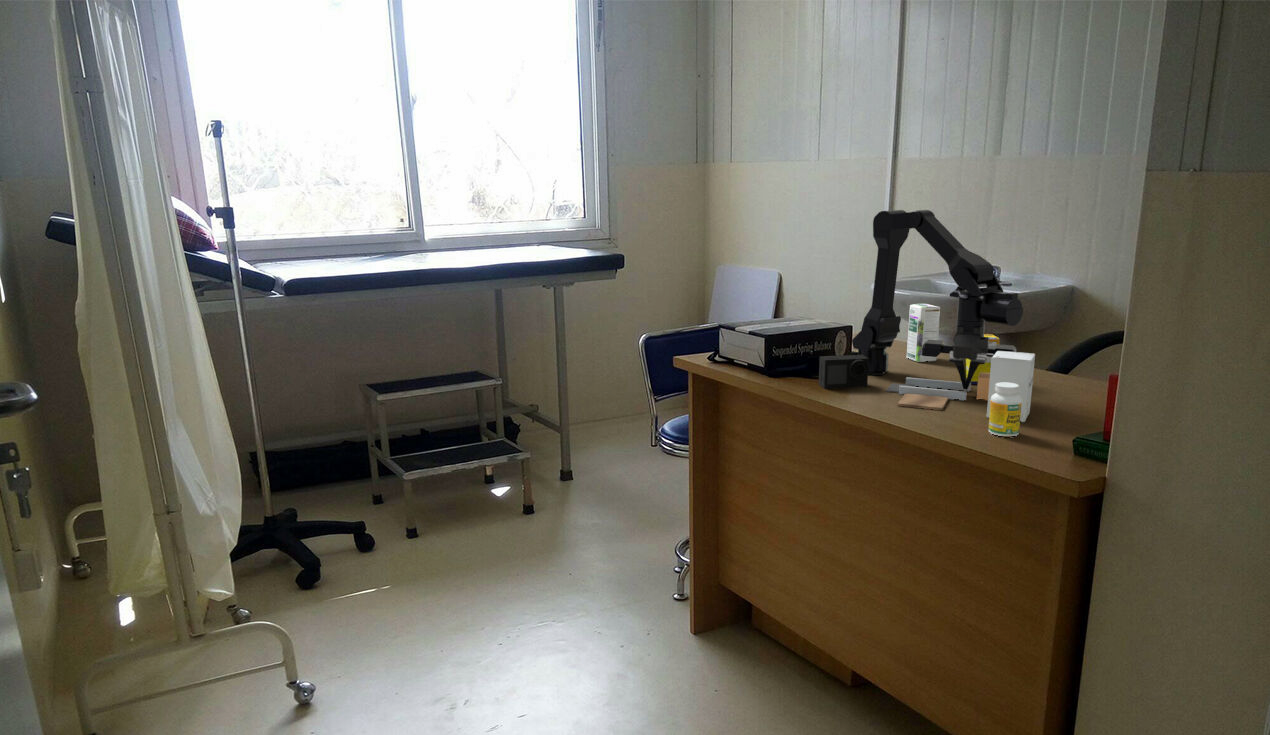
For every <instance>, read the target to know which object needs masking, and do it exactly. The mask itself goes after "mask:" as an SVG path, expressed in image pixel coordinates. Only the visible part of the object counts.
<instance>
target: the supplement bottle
mask: <svg viewBox="0 0 1270 735" xmlns="http://www.w3.org/2000/svg"><path fill="white" fill-rule="evenodd" d="M995 391H996V392H997V393H995V394H993V395H992V397H991V401H990V416H989V418H988V419H989V420H988V433H989V432H990V433H991V434H990V433H989V434H990V435H992V434H994V435H998V436H1016V437H1018V436H1019V433H1020V425H1021V422H1020V417H1021V405H1022V399H1021V397H1020V396H1018V395H1017V393H1018V392H1019V385H1018V384H1015V383H1008V382H1000V383H996V386H995ZM994 435H993V436H994ZM1017 435H1018V436H1017ZM998 436H997V437H998Z"/></svg>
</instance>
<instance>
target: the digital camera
mask: <svg viewBox="0 0 1270 735" xmlns="http://www.w3.org/2000/svg"><path fill="white" fill-rule="evenodd" d="M868 362H869V358H867V357H865V356H864V355H858V354H849V355H848V354H847V355H846V354H845V355H825V356H822V355H820V356H819V364H818V365H819V366H818V367H819V368H818V386H820V387H821V388H823V389H824V390H831V389H832V390H835V389H852V388H853V389H855V388H857V389H858V388H868V384H869V383H868V381H869V380H868V379H869V374H868V372H869V366H868Z"/></svg>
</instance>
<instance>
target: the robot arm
mask: <svg viewBox="0 0 1270 735" xmlns="http://www.w3.org/2000/svg"><path fill="white" fill-rule="evenodd" d="M910 229H915V230H916V231H917V233H918V234H919V235H920V236H921V237H922V239H923V240H925V241H926V242H927V244H929V245H930V247H932V249H933V250H934V251H935V252H936V253H937V255H939V256H940V257H941V258H942V260H943V261H945V263H946V264H947V266H948V272H949V275H950V276H951V278H952V279H953V281H954V283H955V284H956V285H957V286H956V288H955V289H954V290H953V291H952V292H950V293H949V297H950V298H957V299H958V300H957V310H956V311H957V314H956V324H955V325H956V326H955V334H954V337H953V343H952V345H951V344H950V345H949V344H945V341H944V340H940V339H938V340H927V341H926V342H925V343H924V344H923V347H922V356H929V357H937V358H938V356H940V354H948V355H949V358H948V362H951V363H953V364H954V365H955V366H956V370H957V371H958V374H959V378H960V382H962V386H963V389H966V390H967V389H968V387H969V384H970V382H971V380H972V377H973V375H974V373H975V371H976V369H977V368H978V366H979V365H980V364H985V362H986V360H987V357H993V356H994V354H995V353H996V352H997V351H1007V352H1017V348H1016V346H1014V345H1010V344H999V345H998V344H997V346H996V348H988V347H989V337H984V334H985V329H986V328H985V327H986V323H990V324H991V323H992V324H998V325H1002V326H1011V327H1015V326H1017V325H1018V324H1020V321H1021V319H1022V317H1023V315H1024V314H1023V313H1024V307H1023V305H1022V301H1021V300H1020V299H1019V293H1018V292H1004V289H1003V287H1002V286H1001V284H1000V282H999V280H998V279H997V277H996V275H995V269H994V266H993V265H992V263H990V262H989V261H988V260H986V259H985V258H984V257H982V256H981V255H979V254H976V253H975V252H972V251H970V250H969V249H968V248H966V247H964V245H962V243H961V242H960V240H958V239H957V238H956V237H955V236H954V235H953V234H952V233H951V232H950V231H949V230H948V229H947V227H945V226H944V224H942V222H941V221H940V220H938V219H937V217H936V215H935V213H934V212H933V211H932V210H929V209H919V210H913V211H908V212H907V211H905V210H903V209H894V210H881V211H879V212H878V213H876V215H875V216H874V217H873V219H872V235H873V236H872V237H873V239H874V241H875V244H876V246H877V257H876V264H875V265H876V266H875V272H874V273H875V274H874V281H873V282H874V284H873V293H872V301H871V302H872V303H871V307H870V309H869V310H868V312H867V313H866V314H865V316H864V318H863V320H862V321H863V322H862V325H861V329H860V331H859V332H858V333H857V334H856V335H855V337H853V338H852V339H851V342H852V348H853V349H855V350H858V352H857V355H864V356H865V357H867V358H869V362H868V366H869V372H868V375H874V376H883V375H884V374H885V373H886V372H887V371H888V369H889V353H887V348H891V347H892V346H893V343H894V340H895V339H896V338H897V337H898V333H899V334H900V333H901V329H900V324H901V321H902V317H901V316H900V315H897V314H896V313H895V310H894V301H895V293H896V286H897V284H896V283H897V277H898V268H899V261H900V260H899V259H900V252H901V249H902V247H903V245H904V244H905V242H906V240H907V239H908V236H909V234H910ZM966 359H969V360H971V361H970V366H969V371H968V375H967V378H966Z"/></svg>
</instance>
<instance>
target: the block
mask: <svg viewBox="0 0 1270 735" xmlns="http://www.w3.org/2000/svg"><path fill="white" fill-rule="evenodd" d="M989 383H990V373H982V372H981V373H980V375H979V377H978V384H977V388H976V400H978V399H985V400H984V401H988V395H989Z"/></svg>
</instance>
